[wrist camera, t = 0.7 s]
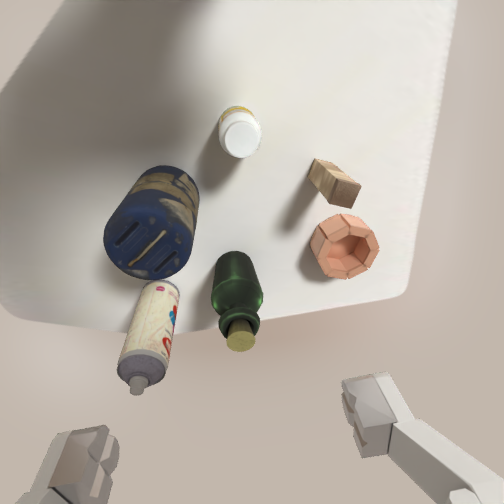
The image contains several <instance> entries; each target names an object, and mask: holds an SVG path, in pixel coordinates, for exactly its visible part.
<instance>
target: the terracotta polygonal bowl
mask: <svg viewBox="0 0 504 504" xmlns="http://www.w3.org/2000/svg"><path fill="white" fill-rule="evenodd" d="M310 245H311V246H310V247H311V249H312V251H313V254H314V255H315V257H316V259H317V261H318V262H319V264H320V266H321V268H322V270H323V271H324V273H325V275H327V276H328V277H334V278H340V279H345V280H346V279H347V277H348V279H350V278H352V277H354V276H356V275H358V274H360V273H362V272H364V271H366V270H368V269H367V268H370V267H371V265H372V263H373V261H374V259H375V257H376V256H377V254H378V252H379V245H378V243H377V240H376V238H375V235H374V233H373V231H372V230H371V229H370V228H369V227H368V226H367V225H366V224H365V223H364V222H363V221H362V220H361V219H360V218H359V217H354V216H352V215H347V214H341V213H340V215H338V214H336V215H335V216H332V217H330V218H328V219H326V220H325V221H323V222H322V223H320V224H319V226H317V227H316V230H315V231H314V233H313V236H312V239H311V242H310Z"/></svg>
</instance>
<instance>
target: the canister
mask: <svg viewBox="0 0 504 504" xmlns="http://www.w3.org/2000/svg"><path fill="white" fill-rule="evenodd" d="M198 207H199V192H198V188H197V186H196V184H195V182H194V181H193V179H192V178H191V177H190V176H189V175H188V174H187V173H185V172H184V171H182V170H180V169H178V168H176V167H172V166H156V167H153V168H151V169H149V170H147V171H146V172H144V173H143V174H142V175H141V176H140V178H139V179H138V180H137V182H136V183H135V184H134V186H133V187H132V188H131V190H130V191H129V192H128V194H127V195H126V197H125V198H124V200H123V201H122V202H121V204H120V205H119V206H118V208H117V209H116V210H115V212H114V213H113V215H112V216H111V218H110V219H109V221H108V222H107V224H106V226H105V229H104V237H103V241H104V247H105V250H106V253H107V255H108V256H109V258H110V259H111V261H112V262H113V263H114V264H115V265H116V266H117V267H118V268H119V269H120V270H122V271H123V272H125V273H126V274H128V275H130V276H133V277H136V278H139V279H144V280H160V279H164V278H167V277H170V276H172V275H174V274H176V273H177V272H178V271H180V270H181V269H182V268H183V267H184V266H185V264H186V263H187V261H188V259H189V257H190V255H191V251H192V246H193V240H194V234H195V229H196V223H197V214H198Z"/></svg>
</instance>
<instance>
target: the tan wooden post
mask: <svg viewBox="0 0 504 504" xmlns="http://www.w3.org/2000/svg"><path fill="white" fill-rule="evenodd" d="M308 178H309V179H310V180H311V182H312V183H313V184H314V185H315V186H316V187H317V189H318V190H319V191H320V192H321V193H322V195H323V196H324V197H325V198H326V199H327V201H328V203H329V204H332V205H337V206H341V207H345V208H350V209H351V208H352V206H353V204H354V202H355V200H356V197H357V195H358V193H359V191H360V189H361V185H360V184H358V183H356V182H355V181H354V180H353V179H351V178H350V177H349V176H348V175H347V174H345V173H344V172H343V171H342V170H340V169H339V168H338V167H337V166H335V165H334V164H333V163H331V162H327V161H323V160H319V159H314V162H313V164H312V167H311V170H310V173H309V175H308Z"/></svg>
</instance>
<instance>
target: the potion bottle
mask: <svg viewBox="0 0 504 504" xmlns="http://www.w3.org/2000/svg"><path fill="white" fill-rule="evenodd" d="M211 302H212V306H213V308H214V309H215V311H216V312H217V313H218V314H219V315H220V316H221V317H220V319H219V321H218V322H219V329H220V331H221V333H222V334H223V336H224V337H225V338H226V339H227V346H228V347H229V348H230V349H231V350H233V351H237V352H242V351H246V350H249V349H250V348H252V347H253V346H254V344H255V337H254V336H255V335H256V333H257V331H258V329H259V325H260V318H259V316H258V314H257V313H256V312H257V311H258V310H259V308H260V306H261V304H262V302H263V292H262V289H261V286H260V284H259V281H258V278H257V275H256V272H255V269H254V266H253V263H252V261H251V259H250V257H249V256H247V255H246V254H245V253H242V252H239V251H230V252H228V253H225V254H223V255H222V256H221V257H220V258H219V259H218V262H217V264H216V270H215V276H214V282H213V288H212V294H211Z"/></svg>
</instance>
